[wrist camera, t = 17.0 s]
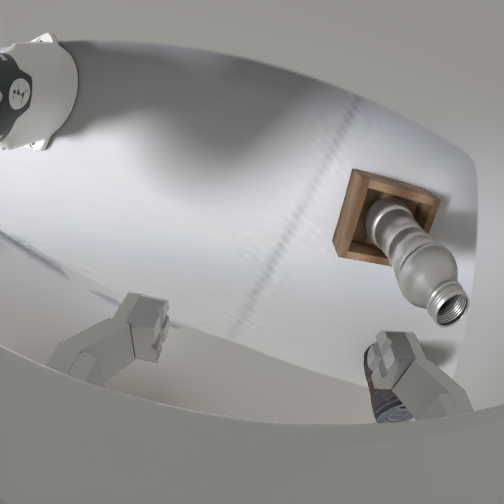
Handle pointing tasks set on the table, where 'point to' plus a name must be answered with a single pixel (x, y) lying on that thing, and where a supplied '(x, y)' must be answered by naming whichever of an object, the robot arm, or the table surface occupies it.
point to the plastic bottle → (417, 261)
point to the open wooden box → (359, 201)
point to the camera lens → (385, 401)
